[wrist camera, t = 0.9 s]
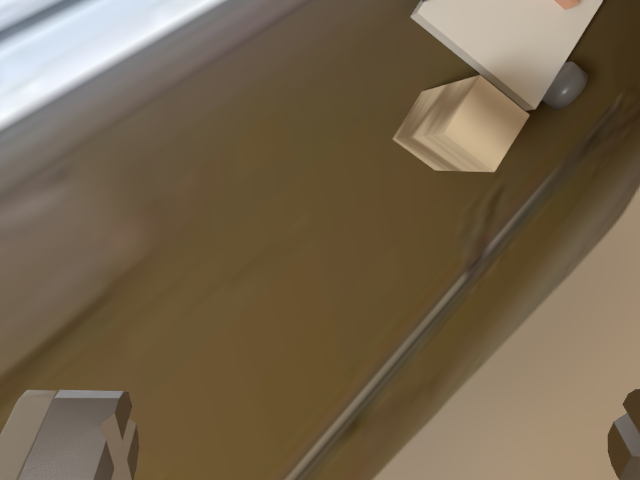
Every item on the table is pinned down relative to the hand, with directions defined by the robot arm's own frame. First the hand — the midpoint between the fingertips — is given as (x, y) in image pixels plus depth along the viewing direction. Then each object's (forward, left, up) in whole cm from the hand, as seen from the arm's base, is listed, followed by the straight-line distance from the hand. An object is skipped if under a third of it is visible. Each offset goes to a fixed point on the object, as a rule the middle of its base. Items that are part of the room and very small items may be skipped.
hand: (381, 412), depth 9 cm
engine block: (-2, +20, -40) cm, 45 cm away
